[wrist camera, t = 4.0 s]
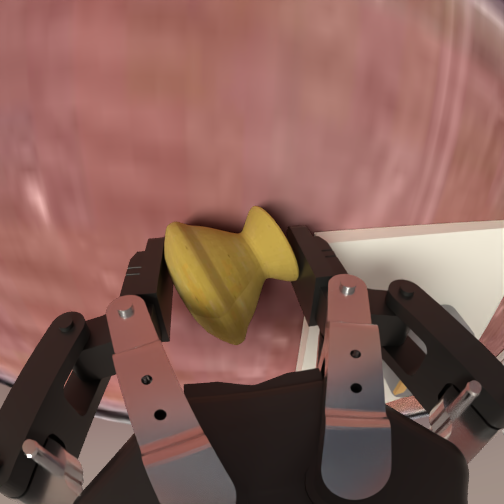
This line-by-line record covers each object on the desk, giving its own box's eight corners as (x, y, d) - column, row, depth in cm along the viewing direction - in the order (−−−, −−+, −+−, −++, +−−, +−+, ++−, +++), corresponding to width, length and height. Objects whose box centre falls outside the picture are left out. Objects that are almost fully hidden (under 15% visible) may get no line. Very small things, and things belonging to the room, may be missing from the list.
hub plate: (524, 219, 16) (557, 245, 13) (448, 371, 26) (464, 397, 23) (314, 232, 14) (346, 283, 11) (287, 417, 24) (296, 455, 21)
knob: (202, 298, 15) (206, 382, 11) (151, 210, 12) (128, 287, 8) (293, 265, 15) (326, 343, 11) (258, 167, 12) (290, 225, 8)
